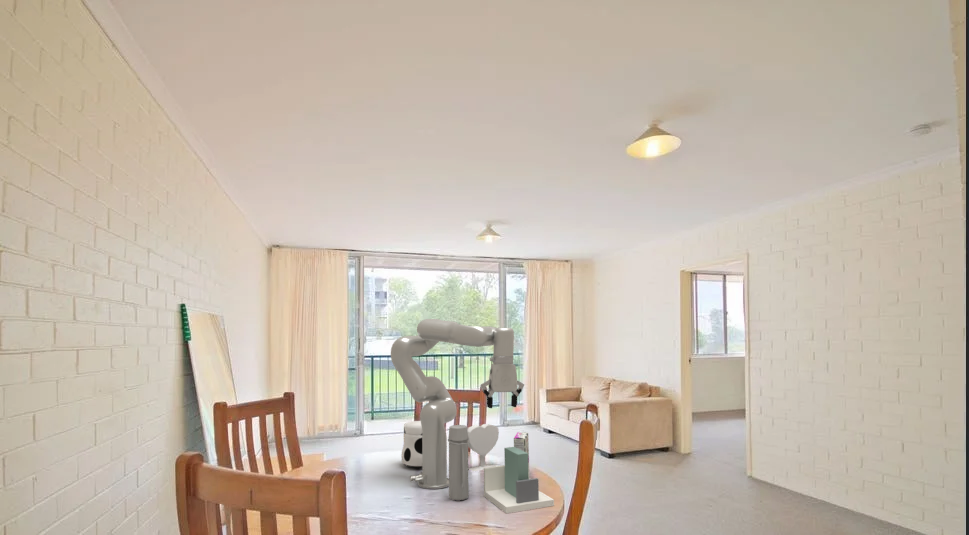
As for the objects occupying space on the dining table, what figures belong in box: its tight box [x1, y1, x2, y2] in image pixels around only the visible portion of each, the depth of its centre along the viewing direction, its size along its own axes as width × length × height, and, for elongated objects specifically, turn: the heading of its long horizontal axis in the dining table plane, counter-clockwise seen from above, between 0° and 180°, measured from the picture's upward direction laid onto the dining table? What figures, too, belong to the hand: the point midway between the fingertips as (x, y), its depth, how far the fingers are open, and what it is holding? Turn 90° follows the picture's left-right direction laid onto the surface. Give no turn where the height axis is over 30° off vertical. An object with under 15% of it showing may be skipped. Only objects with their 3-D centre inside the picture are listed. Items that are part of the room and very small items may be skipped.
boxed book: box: [504, 446, 530, 498], centre depth 188 cm, size 4×11×15 cm, turn 23°
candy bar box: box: [513, 431, 530, 464], centre depth 217 cm, size 11×5×16 cm, turn 168°
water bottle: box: [447, 424, 470, 502], centre depth 190 cm, size 9×8×25 cm
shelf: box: [483, 462, 555, 514], centre depth 186 cm, size 18×19×10 cm
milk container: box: [401, 420, 422, 469], centre depth 234 cm, size 17×17×18 cm
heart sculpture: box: [467, 423, 500, 472], centre depth 230 cm, size 16×5×18 cm, turn 125°
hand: (501, 407), depth 197 cm, fingers open, 9 cm apart
